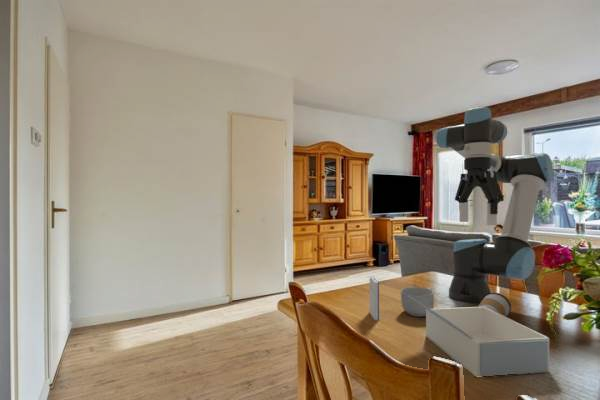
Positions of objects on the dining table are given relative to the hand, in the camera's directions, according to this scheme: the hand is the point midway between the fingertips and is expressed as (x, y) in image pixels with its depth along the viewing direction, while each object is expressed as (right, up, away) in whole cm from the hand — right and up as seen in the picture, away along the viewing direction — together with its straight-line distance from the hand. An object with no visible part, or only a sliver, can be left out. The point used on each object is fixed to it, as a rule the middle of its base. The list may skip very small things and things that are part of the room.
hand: (476, 223), depth 106 cm
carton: (-10, -32, -21) cm, 40 cm away
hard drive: (-32, -32, +5) cm, 45 cm away
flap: (-22, -21, -23) cm, 38 cm away
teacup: (-16, -32, +9) cm, 37 cm away
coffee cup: (-1, -28, -7) cm, 29 cm away
